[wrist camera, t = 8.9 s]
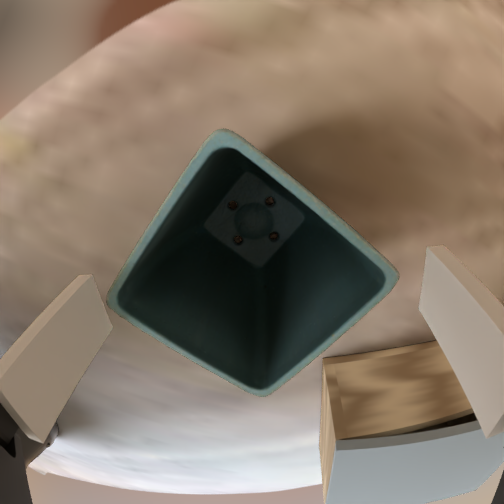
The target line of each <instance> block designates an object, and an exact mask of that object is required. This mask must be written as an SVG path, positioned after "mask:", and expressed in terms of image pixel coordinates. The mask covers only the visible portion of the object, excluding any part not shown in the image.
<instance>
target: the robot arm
mask: <svg viewBox="0 0 504 504" xmlns="http://www.w3.org/2000/svg"><path fill="white" fill-rule="evenodd" d="M418 309H419V311H420V312H421V314H422V316H423V317H424V319H425V321H426V322H427V324H428V326H429V327H430V329H431V331H432V333H433V334H434V336H435V338H436V340H437V341H438V343H439V345H440V347H441V348H442V350H443V352H444V354H445V356H446V358H447V359H448V361H449V363H450V365H451V367H452V369H453V371H454V373H455V374H456V376H457V378H458V380H459V382H460V384H461V386H462V388H463V390H464V392H465V394H466V396H467V398H468V400H469V402H470V404H471V407H472V409H473V411H474V413H475V415H476V417H477V419H478V422H479V424H480V426H481V428H482V431H483V433H484V435H485V438H486V439H487V438H490V437H492V436H495V435H497V434H499V433H502V432H504V306H503V305H502V304H501V303H500V301H499V300H498V299H497V298H496V297H495V296H494V295H493V294H492V293H491V292H490V291H489V290H488V288H487V287H486V286H485V285H484V284H483V283H482V282H481V281H480V280H479V279H478V278H477V277H476V276H475V275H474V274H473V273H472V272H471V271H470V270H469V269H468V268H467V267H466V266H465V265H464V264H463V263H462V262H461V261H460V260H459V259H458V258H457V257H456V256H455V255H454V254H453V253H452V252H451V251H450V250H448V249H447V248H446V247H445V246H444V245H438V246H428V247H427V249H426V258H425V267H424V275H423V282H422V289H421V295H420V301H419V307H418ZM112 329H113V327H112V324H111V322H110V319H109V317H108V315H107V312H106V309H105V307H104V304H103V302H102V299H101V296H100V294H99V291H98V288H97V286H96V283H95V280H94V277H93V274H88V275H78V276H77V277H76V278H75V279H74V280H73V281H72V282H71V283H70V284H69V285H68V286H67V287H66V288H65V289H64V290H63V291H62V292H61V293H60V294H59V295H58V296H57V297H56V298H55V299H54V300H53V301H52V302H51V303H50V305H49V306H48V307H47V308H46V309H45V310H44V311H43V312H42V313H41V314H40V315H39V316H38V317H37V318H36V319H35V320H34V321H33V323H32V324H31V325H30V326H29V327H28V328H27V329H26V330H25V331H24V332H23V334H22V335H21V336H20V337H19V338H18V339H17V340H16V341H15V343H14V344H13V345H12V346H11V347H10V348H9V349H8V351H7V352H6V353H5V354H4V355H3V357H2V358H1V359H0V504H33V503H32V499H31V495H30V490H29V485H28V481H27V475H26V468H27V466H28V465H29V464H30V463H31V462H32V461H33V460H34V459H35V458H37V457H38V456H39V455H40V454H41V453H42V452H43V451H44V450H45V449H46V448H47V447H50V446H51V445H52V444H53V442H54V440H55V438H56V436H57V434H58V426H57V424H56V420H57V418H58V417H59V415H60V413H61V411H62V410H63V408H64V406H65V404H66V403H67V401H68V399H69V398H70V396H71V394H72V393H73V391H74V389H75V388H76V386H77V384H78V383H79V381H80V379H81V378H82V376H83V374H84V373H85V371H86V370H87V368H88V366H89V365H90V363H91V362H92V360H93V358H94V357H95V355H96V354H97V352H98V351H99V349H100V347H101V346H102V344H103V343H104V341H105V340H106V338H107V337H108V335H109V334H110V332H111V331H112ZM503 448H504V447H503ZM491 504H504V471H503V474H502V477H501V479H500V483H499V485H498V488H497V490H496V493H495V496H494V498H493V501H492V503H491Z"/></svg>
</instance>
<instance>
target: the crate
mask: <svg viewBox="0 0 504 504" xmlns="http://www.w3.org/2000/svg"><path fill="white" fill-rule="evenodd" d="M477 420H478V419H477V417H476V415H475V413H474V411H473V409H472V407H471V404H470V402H469V400H468V398H467V396H466V394H465V392H464V390H463V388H462V386H461V384H460V382H459V380H458V378H457V376H456V374H455V373H454V371H453V369H452V367H451V365H450V363H449V361H448V359H447V358H446V356H445V354H444V352H443V350H442V348H441V347H440V345H439V343H438V341H437V340H435V341H431V342H426V343H421V344H415V345H410V346H405V347H399V348H393V349H387V350H381V351H374V352H368V353H361V354H353V355H346V356H338V357H329V358H323V366H322V400H321V422H320V439H319V448H320V459H321V471H322V482H323V494H324V504H325V502H326V497H327V492H328V487H329V481H330V475H331V470H332V464H333V457H334V451H335V444H336V440H353V439H367V438H378V437H388V436H396V435H404V434H411V433H418V432H424V431H430V430H436V429H441V428H446V427H451V426H456V425H460V424H465V423H469V422H473V421H477Z"/></svg>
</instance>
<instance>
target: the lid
mask: <svg viewBox="0 0 504 504" xmlns="http://www.w3.org/2000/svg"><path fill="white" fill-rule="evenodd" d="M503 447H504V432H502V433H499V434H497V435H495V436H492V437H490V438H487V439H486V438H485V435H484V433H483V431H482V428H481V426H480V424H479V422H478V420H477V421H473V422H469V423H465V424H460V425H456V426H451V427H446V428H441V429H436V430H430V431H424V432H418V433H411V434H404V435H396V436H388V437H378V438H367V439H353V440H336V444H335V451H334V457H333V464H332V470H331V475H330V481H329V487H328V492H327V497H326V502H325V504H424V503H429V502H433V501H438V500H442V499H446V498H450V497H454V496H458V495H461V494H465V493H468V492H471V491H475V490H477V489H478V487H479V486H481V485H482V484H483V483H484V482H485V481H486V480H487V479H488V478H489V477H490V476H491V475H492V474H493V473H494V472H495V471H496V469H497V468H498V467H499V466H500V465H501V464H502V463H503V462H504V448H503Z"/></svg>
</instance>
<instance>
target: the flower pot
mask: <svg viewBox="0 0 504 504" xmlns="http://www.w3.org/2000/svg"><path fill="white" fill-rule="evenodd" d="M268 197H272V198H273V199H274V203H273V204H272V205H268V204H267V203H266V199H267V198H268ZM231 201H235V202H236V203H237V207H236V208H235V209H231V208H230V207H229V202H231ZM273 232H276V233H277V234H278V237H277V239H275V240H273V239H271V238H270V234H271V233H273ZM236 236H241V237H242V242H241V243H236V242H235V241H234V237H236ZM398 280H399V273H398V271H397V270H396V268H395V267H394V266H393V265H392V264H391V263H390V262H389V261H388V260H387V259H386V258H385V257H384V256H383V255H381V254H380V253H379V252H378V251H377V250H376V249H375V248H374V247H373V246H372V245H371V244H370V243H369V242H367V241H366V240H365V239H364V238H363V237H362V236H361V235H360V234H359V233H358V232H357V231H356V230H354V229H353V228H352V227H351V226H350V225H349V224H347V223H346V222H345V221H344V220H343V219H342V218H340V217H339V216H338V215H337V214H336V213H335V212H333V211H332V210H331V209H330V208H329V207H328V206H326V205H325V204H324V203H323V202H322V201H321V200H319V199H318V198H317V197H316V196H315V195H313V194H312V193H311V192H310V191H309V190H307V189H306V188H305V187H304V186H303V185H301V184H300V183H299V182H298V181H296V180H295V179H294V178H293V177H292V176H290V175H289V174H288V173H287V172H285V171H284V170H283V169H282V168H281V167H279V166H278V165H277V164H276V163H274V162H273V161H272V160H271V159H269V158H268V157H267V156H265V155H264V154H263V153H262V152H260V151H259V150H258V149H257V148H255V147H254V146H253V145H251V144H250V143H249V142H248V141H246V140H245V139H244V138H242V137H241V136H239V135H238V134H236V133H235V132H233V131H231V130H228V129H219V130H216V131H215V132H213V133H212V134H211V135H210V136H209V137H208V138H207V139H206V141H205V142H204V143H203V144H202V146H201V147H200V149H199V150H198V152H197V153H196V155H195V156H194V157H193V159H192V160H191V162H190V163H189V165H188V166H187V168H186V169H185V171H184V172H183V173H182V175H181V176H180V178H179V180H178V181H177V183H176V184H175V186H174V187H173V189H172V190H171V191H170V193H169V195H168V196H167V198H166V199H165V201H164V202H163V204H162V206H161V207H160V208H159V210H158V212H157V213H156V215H155V216H154V218H153V220H152V221H151V222H150V224H149V226H148V227H147V229H146V230H145V232H144V233H143V235H142V237H141V238H140V240H139V241H138V243H137V244H136V246H135V248H134V249H133V251H132V253H131V254H130V256H129V258H128V259H127V261H126V263H125V264H124V266H123V267H122V269H121V271H120V273H119V274H118V276H117V278H116V279H115V281H114V283H113V284H112V286H111V288H110V289H109V291H108V294H107V298H106V302H107V305H108V307H109V308H111V309H112V310H113V311H114V312H116V313H117V314H118V315H119V316H120V317H122V318H124V319H126V320H127V321H128V322H130V323H131V324H132V325H133V326H135V327H137V328H139V329H140V330H141V331H143V332H144V333H147V334H148V335H150V336H152V337H154V338H155V339H156V340H158V341H160V342H161V343H163V344H165V345H166V346H168V347H169V348H171V349H173V350H174V351H176V352H178V353H179V354H181V355H182V356H184V357H186V358H187V359H189V360H191V361H193V362H194V363H196V364H198V365H200V366H201V367H203V368H205V369H207V370H208V371H210V372H212V373H214V374H216V375H218V376H219V377H221V378H223V379H225V380H227V381H228V382H230V383H232V384H234V385H236V386H237V387H239V388H241V389H243V390H244V391H246V392H248V393H250V394H253V395H256V396H260V397H266V396H268V395H270V394H271V393H273V392H274V391H276V390H277V389H279V388H280V387H281V386H282V385H283V384H285V383H286V382H287V381H288V380H290V379H291V378H292V377H294V376H295V375H296V374H297V373H299V372H300V371H301V370H302V369H303V368H304V367H305V366H307V365H308V364H309V363H311V362H312V361H313V360H314V359H315V358H316V357H318V356H319V355H320V354H321V353H322V352H324V351H325V350H326V349H327V348H328V347H330V345H331V344H333V343H334V342H335V341H336V340H337V339H338V338H340V337H341V336H342V335H343V334H344V333H345V332H346V331H347V330H349V329H350V328H351V327H352V326H354V324H356V323H357V322H358V321H359V320H360V319H361V318H362V317H363V316H364V315H365V314H367V313H368V312H369V311H370V310H371V309H372V308H373V307H374V306H375V305H376V304H378V303H379V302H380V301H381V300H382V299H383V298H384V297H385V296H386V295H387V294H389V293H390V291H391V290H392V289H393V287H394V286H395V284H396V283H397V281H398Z"/></svg>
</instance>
